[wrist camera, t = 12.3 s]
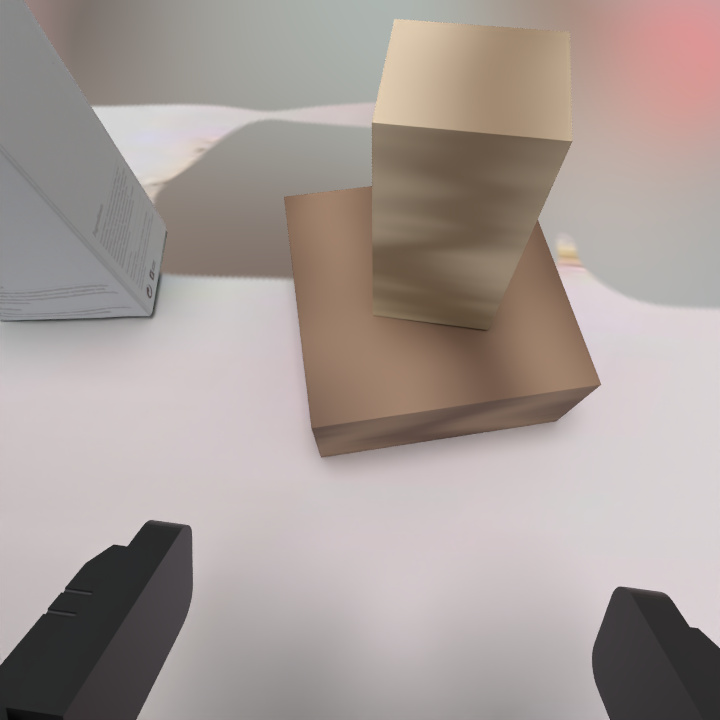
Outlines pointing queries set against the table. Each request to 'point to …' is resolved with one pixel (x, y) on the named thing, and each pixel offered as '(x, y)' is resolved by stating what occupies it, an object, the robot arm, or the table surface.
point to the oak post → (462, 164)
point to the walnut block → (423, 343)
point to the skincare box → (65, 194)
